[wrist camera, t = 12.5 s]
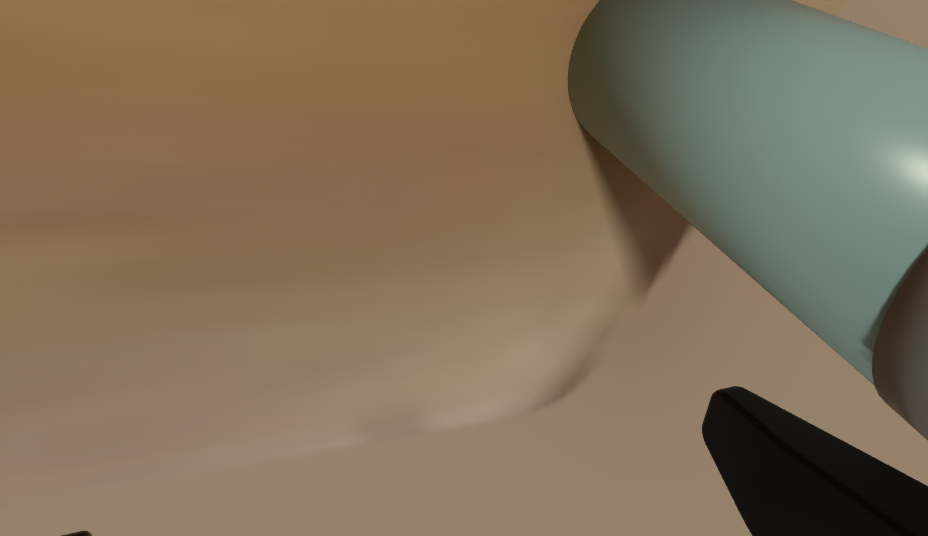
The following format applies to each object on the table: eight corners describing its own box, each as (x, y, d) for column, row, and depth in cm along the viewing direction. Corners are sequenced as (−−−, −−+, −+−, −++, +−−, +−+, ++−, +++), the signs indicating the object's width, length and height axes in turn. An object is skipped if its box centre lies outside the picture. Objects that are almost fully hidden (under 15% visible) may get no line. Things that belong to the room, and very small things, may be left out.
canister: (536, 131, 22) (859, 459, 11) (616, -71, 20) (1145, 109, 9) (682, 165, 25) (1058, 459, 14) (771, -8, 22) (1327, 190, 11)
